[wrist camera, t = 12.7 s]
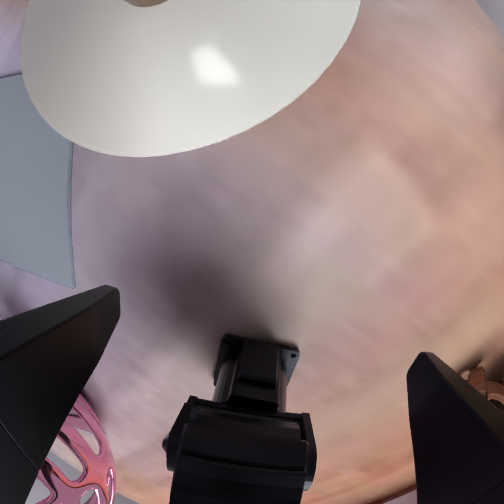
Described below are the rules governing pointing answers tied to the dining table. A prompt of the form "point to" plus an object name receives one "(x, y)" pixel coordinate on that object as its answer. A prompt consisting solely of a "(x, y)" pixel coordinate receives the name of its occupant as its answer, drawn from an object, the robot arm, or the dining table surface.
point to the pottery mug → (487, 387)
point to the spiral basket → (82, 462)
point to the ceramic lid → (173, 67)
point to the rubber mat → (34, 189)
